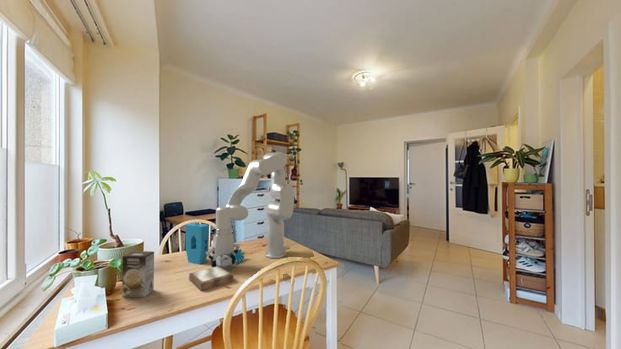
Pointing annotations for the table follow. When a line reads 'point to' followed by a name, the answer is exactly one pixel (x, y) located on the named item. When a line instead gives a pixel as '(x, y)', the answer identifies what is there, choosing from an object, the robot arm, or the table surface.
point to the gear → (238, 256)
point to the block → (197, 242)
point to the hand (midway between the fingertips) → (223, 265)
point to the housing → (224, 262)
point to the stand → (210, 278)
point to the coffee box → (138, 274)
